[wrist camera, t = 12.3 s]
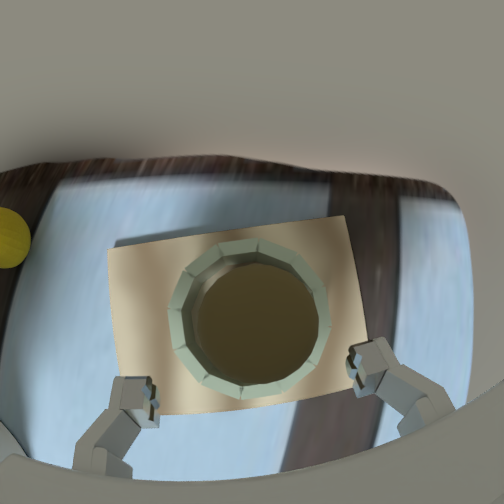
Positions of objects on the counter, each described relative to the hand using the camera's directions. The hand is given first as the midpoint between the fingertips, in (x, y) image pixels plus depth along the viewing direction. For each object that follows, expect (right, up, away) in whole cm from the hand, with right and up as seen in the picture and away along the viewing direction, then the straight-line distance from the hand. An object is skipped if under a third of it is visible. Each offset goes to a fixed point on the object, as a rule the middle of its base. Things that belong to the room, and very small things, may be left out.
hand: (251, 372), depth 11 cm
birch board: (-1, -1, +11) cm, 11 cm away
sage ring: (0, 0, +10) cm, 10 cm away
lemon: (-23, +5, +12) cm, 27 cm away
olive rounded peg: (0, 0, +11) cm, 11 cm away
